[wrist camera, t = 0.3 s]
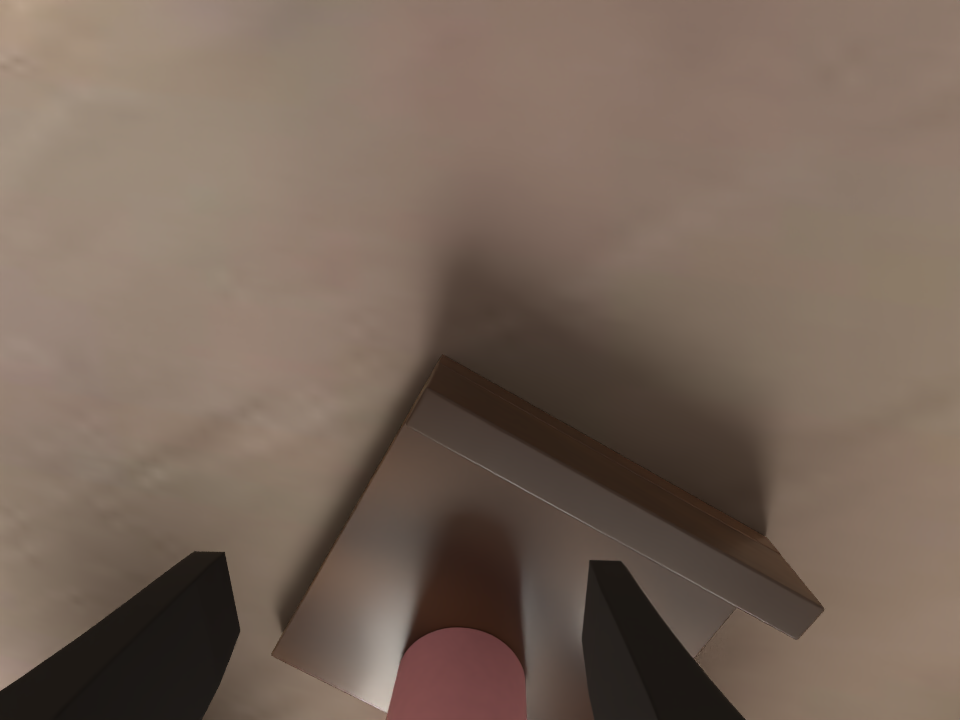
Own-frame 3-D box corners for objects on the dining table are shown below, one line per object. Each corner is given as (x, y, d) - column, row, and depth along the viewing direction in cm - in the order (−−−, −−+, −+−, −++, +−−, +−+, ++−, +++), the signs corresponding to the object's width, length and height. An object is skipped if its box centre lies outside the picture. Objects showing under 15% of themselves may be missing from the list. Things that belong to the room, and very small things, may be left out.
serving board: (568, 779, 25) (579, 885, 21) (281, 635, 24) (235, 718, 20) (767, 537, 22) (827, 609, 18) (442, 353, 21) (426, 386, 16)
